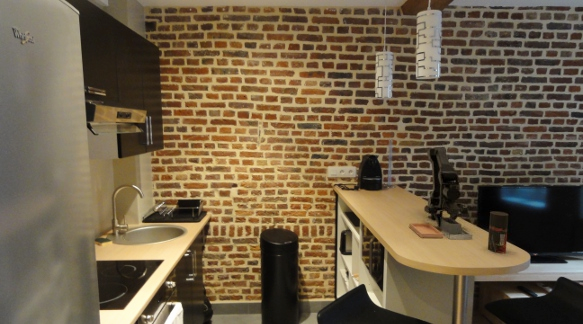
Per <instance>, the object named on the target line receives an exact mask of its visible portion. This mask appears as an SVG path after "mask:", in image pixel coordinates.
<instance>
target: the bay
mask: <svg viewBox="0 0 583 324" xmlns="http://www.w3.org/2000/svg"><path fill="white" fill-rule="evenodd" d="M440 232H441V233H443V236H445V238H448V239H449V240H473V234H472V233H470V232H468V231H466V230H465V229H464V228H461V234H450V233H448V232H447V231H445V230H444V229H442V230H441V231H440Z"/></svg>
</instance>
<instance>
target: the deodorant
mask: <svg viewBox="0 0 583 324" xmlns="http://www.w3.org/2000/svg"><path fill="white" fill-rule="evenodd" d="M488 222H489V227H488V239H487V250H489V251H490V252H493V253H498V254H505V253H507V242H508V241H507V239H508V227H509V214H508V213H507V212H503V211H497V210H496V211H490V212H489V221H488Z"/></svg>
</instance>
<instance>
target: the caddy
mask: <svg viewBox="0 0 583 324" xmlns="http://www.w3.org/2000/svg"><path fill="white" fill-rule="evenodd" d="M437 228H438V229H440V230H441V231H442V229H444V230H445V231H447V232H448V233H450V234H462V233H461V229H462V224H461V223H459V222H458V221H456V220H453V219H451V218H450V216H449V217H448V216H447V217H446V216H445V217H444V216H442V217H440V227H439V226H438V225H437Z"/></svg>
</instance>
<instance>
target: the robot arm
mask: <svg viewBox="0 0 583 324" xmlns="http://www.w3.org/2000/svg"><path fill="white" fill-rule="evenodd" d="M426 154H427V157H428V161H429V162H430V164H431V168H432V169H431V170H432V171H431V172H432V173H431V174H432V175H431V176H432V191H431V192H430V193H429V197H428V200H427V204H426V205H425V206H424V208H423V209H424V212H426V213H427V214H428V216H427V218H430V219H431V220H432V221H436V224H437V227H438V226H439V227H440V217H444V216H443V215H444V213H443V212H446V213H447V214H448V215H449V217H450V218H451V219H453V220H455V221H456V220H457V218H458V217H459V216H462V215H469V212H470V211H469V209H468V207H466V206H464V204H463V203H456V201H457V200H458V199H460V197H461V191H460V190H459V188H457V186H458V187H459V186H460V182H461V181H460V178H459V177H460V176H459V175H458V172H457V171H456V169H455V168H454V167H453V166H452V165H451V164H450V161H449V158H448V154H447V148H445V147H430V148H429V149H427V151H426Z"/></svg>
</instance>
